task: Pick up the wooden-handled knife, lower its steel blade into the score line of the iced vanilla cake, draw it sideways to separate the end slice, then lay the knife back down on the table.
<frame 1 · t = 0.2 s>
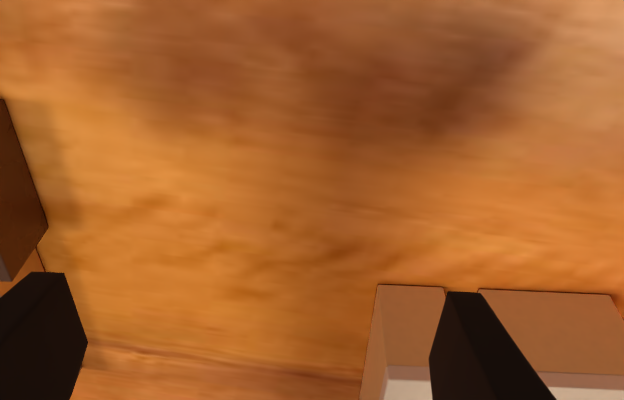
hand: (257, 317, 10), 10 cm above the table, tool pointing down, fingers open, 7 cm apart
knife: (23, 226, 22), on the table
cake: (514, 358, 27), on the table
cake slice: (395, 353, 27), on the table
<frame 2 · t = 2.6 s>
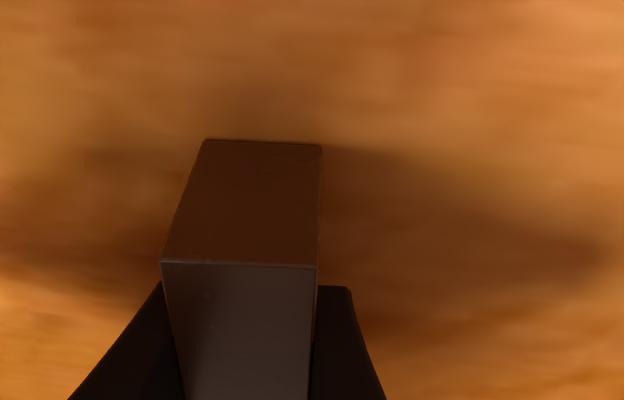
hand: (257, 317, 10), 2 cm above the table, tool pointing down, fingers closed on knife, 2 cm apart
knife: (266, 346, 13), on the table, touching gripper
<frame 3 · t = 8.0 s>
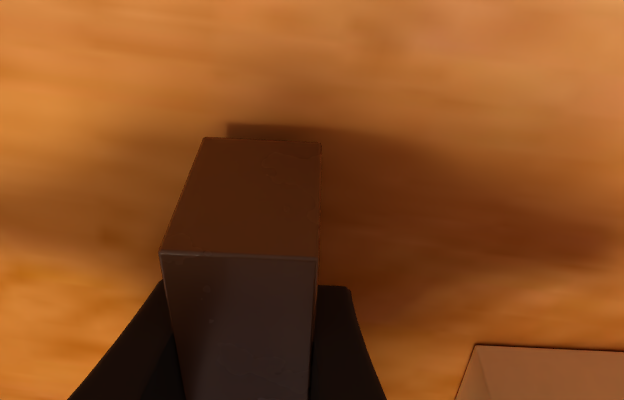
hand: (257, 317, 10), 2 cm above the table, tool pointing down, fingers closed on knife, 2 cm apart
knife: (266, 346, 13), point 1 cm above the table, touching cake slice, gripper
when the fingers open (2 cm above the table, at t = 12.1 s): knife stays where it is, on the table.
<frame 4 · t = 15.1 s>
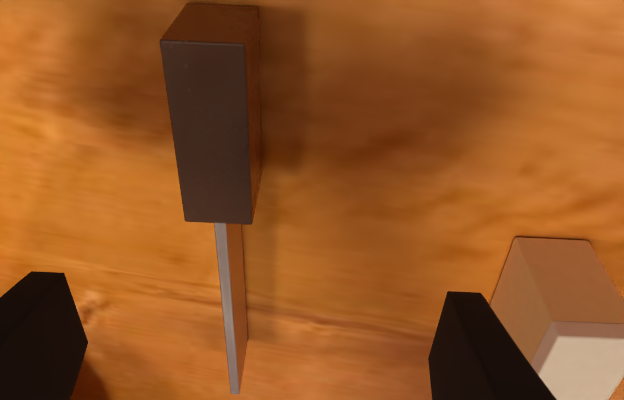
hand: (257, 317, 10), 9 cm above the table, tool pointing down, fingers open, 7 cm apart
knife: (233, 169, 19), on the table
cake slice: (516, 319, 24), on the table
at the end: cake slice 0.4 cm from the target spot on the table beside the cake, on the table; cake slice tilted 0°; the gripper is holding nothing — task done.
